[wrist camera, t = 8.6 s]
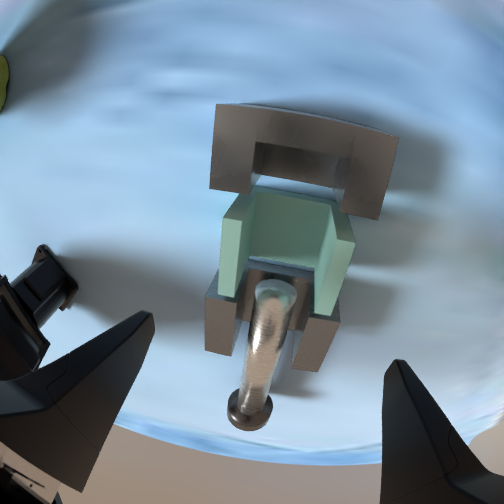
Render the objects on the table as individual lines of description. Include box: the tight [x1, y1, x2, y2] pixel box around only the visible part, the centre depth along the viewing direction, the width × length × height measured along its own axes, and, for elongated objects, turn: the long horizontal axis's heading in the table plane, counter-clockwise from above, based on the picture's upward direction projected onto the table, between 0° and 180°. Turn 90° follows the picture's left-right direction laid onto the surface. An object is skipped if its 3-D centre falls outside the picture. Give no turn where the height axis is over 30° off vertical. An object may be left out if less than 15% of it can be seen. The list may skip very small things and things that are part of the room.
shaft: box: [227, 279, 297, 431], centre depth 22 cm, size 16×4×4 cm, turn 173°
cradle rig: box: [205, 104, 399, 372], centre depth 17 cm, size 16×8×5 cm, turn 173°
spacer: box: [218, 186, 356, 316], centre depth 16 cm, size 4×6×6 cm
